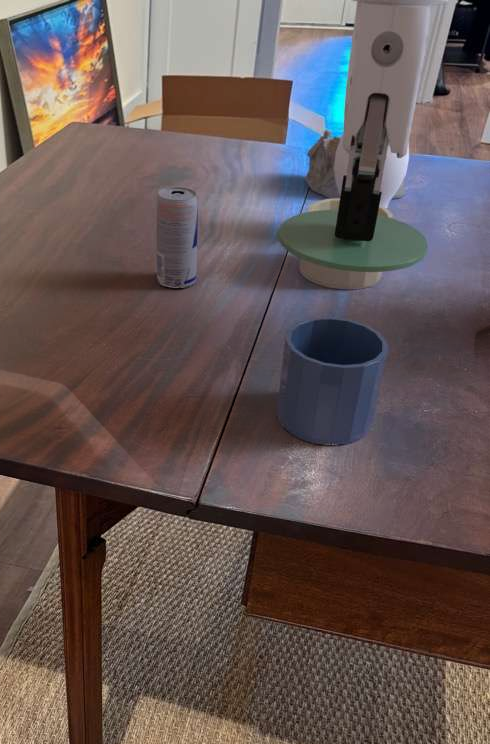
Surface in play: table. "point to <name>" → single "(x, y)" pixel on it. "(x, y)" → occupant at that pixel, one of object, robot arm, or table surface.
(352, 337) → the tumbler
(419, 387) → the table surface
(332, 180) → the ceramic cottage
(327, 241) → the tin lid
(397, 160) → the cup
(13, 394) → the table surface
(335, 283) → the tin
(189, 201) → the energy drink
